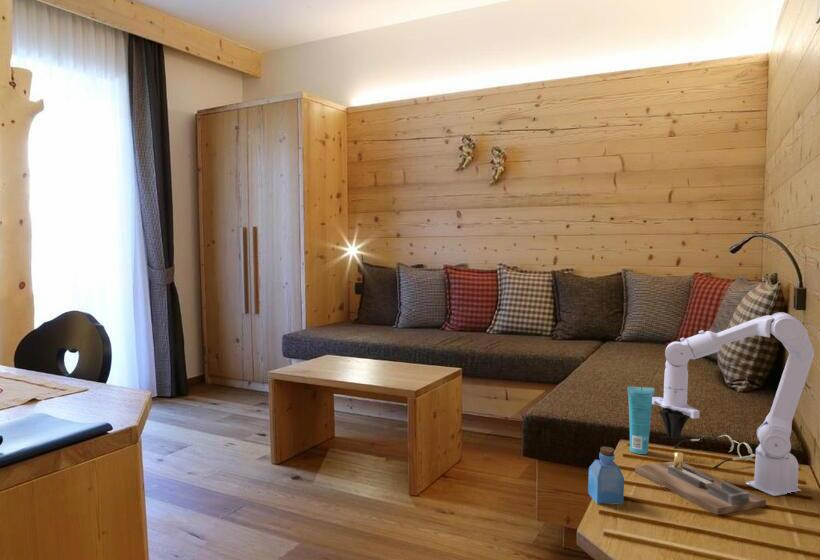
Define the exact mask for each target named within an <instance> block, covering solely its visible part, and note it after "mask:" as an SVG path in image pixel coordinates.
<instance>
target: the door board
mask: <svg viewBox="0 0 820 560" xmlns="http://www.w3.org/2000/svg"><path fill="white" fill-rule="evenodd" d="M672 465H674V460H673V461H666V462H665V461H664V462H660V463H659V462H658V463H652V464H645V465H638V466H635V470H634V472H635V473H636V474H638V475H640V476H642V477H643V478H646V479H648V480H649V481H651V482H653V483H655V484H657V483H658V484H657V485H659V484H660V485H659V486H661V485H663V486H665V487H667V488H668V489H670V490H671V491H670V490H669V491H670V492H672V493H674V494H677V495H678V496H680V497H682V498H684V499H685V500H687V501H689V502H691V503H693V504H695V505H696V506H699V507H701V508H703V509H704V510H706V511H707V512H711V513H712V514H714V515H715V516H720V515H724V514H725V515H727V514H730V513H735V512H740V511H741V512H742V511H747V510H751V509H757V508H758V509H759V508H763V507H766V505H767V499H766V498H763V497H761V496H759V495H756V494H754V493H751V492H750V491H747V490H745V489H743V488H740V487H739V486H736V485H735V484H732V483H730V482H727V481H725V480H723V479H721V478H719V477H716V476H715V475H712V474H710V473H708V472H706V471H703V470H701V469H699V468H696V467H694V466H692V465H690V464H687V463H686V462H684V461H683V464H682V469H685V470H687V471H689V472H691V473H693V474H695V475H697V476H700V477H702V478H704V479H706V480H708V481H710V482H712V483H713V485H708V488H707V489H706V488H704V487H702V481H700V480H698V479H696V478H694V477H692V476H690V475H688V474H686V473H683V472H681V471H679V470H677V469H675V468H673V467H669V466H672ZM663 486H662V487H663ZM668 489H667V490H668Z"/></svg>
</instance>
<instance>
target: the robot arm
mask: <svg viewBox="0 0 820 560" xmlns="http://www.w3.org/2000/svg"><path fill="white" fill-rule="evenodd" d="M771 335H772V336H774V337H775V338H776V339H777V340H778V341H779V342H781V344H782V345H783V347H784V348H785V349H786V350H787V352H788V357H787V359H786V361H785V364H784V365H785V366H784V369H783V372H782V374H781V378H780V381H779V383H778V386H777V390H776V392H775V395H774V398H773V402H772V406H771V408H770V411H769V413H768V414H767V415H766V417H765V419H764V421H763V423H762V424H761V425H760V426H759V427H757V429H756V436H757V440H758V441H759V444H758V446H757V447H756V448H755V455H756V457H755V463H754V476H753V479H754V480H750V481H746V482H745V485H748V486H750V487H751V488H754V489H756V490H758V491H762V492H763V493H766V494H768V495H770V496H771V497H778V496H782V495H788V494H787V493H790V494H792V493H791V492H795V493H797V492H796V491H800V492H801V491H802V489H800V488H799V485H798V484H799V466H800V465H799V462H798V460H797V458H796V456H794V454H792V453H791V449H792V443H791V435H792V427H793V426H792V425H793V419H794V416H795V414H796V412H797V411H796V410H797V408H798V404H799V402H800V399H801V397H802V396H801V395H802V392H803V389H804V388H805V387H804V386H805V385H806V380H807V378H808V375H809V372H810V368H811V366H812V363H813V359H814V357H815V350H814V348H813V347H814V346H813V344H812V342H811V338H810V336H809V334H808V329H807V328H806V327H805V325H803V324H802V322H801V321H800V320H799V319H798V318H796V317H794V316H792V315H791V314H789V313H788V312H787V313H786V312H783V311H781V312H779V311H778V312H775V313H773V314H771V315H770V314H768V315H762V316H759V317H757V318H753V319H750V320H748V321H745V322H742V323H740V324H737V325H735V326H732V327H729V328H727V329H724V330H721V331H718V332H713V331H711V330H707V331H704V330H703V329H702V330H699V331H698V333H697V334H695V335H692V336H689V337H686V338H685V337H681V338H680V339H679V340H680V341H679V340H678V341H672V342H670V343H669V344H668V345H667V346H666V348H665V350H664V356H665V369H664V374H663V375H664V378H663V397H660V396H653V397H652V405H654V406H660V407H661V408H662V409H659V411H658V412H659V415H660V416H661V419H662V421H663V423H664V427H665V430H666V431H665V432H666V436H667V438H671V439H672V440H679V439H680V437H681V434H682V431H683V429H684V426H686V423H687V421H688V420H689V419H690V418H691V419H700V414H701V413H700V412H701V411H700V410H698V409H696V408H695V407H692V406H691V405H689V404H688V389H689V388H688V387H689V386H688V384H689V370H688V363H689V361H690V360H696V359H699V358H700V359H701V358H703V357H706V356H709V355H712V354H715V353H718V352H719V351H720V350H721V348H722V346H723V345H726V344H730V343H732V342H736V341H739V340H743V339H746V338H750V337H753V336H760V337H765V338H771Z"/></svg>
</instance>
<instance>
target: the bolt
mask: <svg viewBox="0 0 820 560" xmlns="http://www.w3.org/2000/svg"><path fill="white" fill-rule="evenodd" d="M673 461H674V465H672V466H669V467H673V468H675V469H677V470H679V471H681V472H683V473H686V474H688V475H690V476H692V477H694V478H696V479H698V480H700V481H702V487H704V488H706V489H707V488H708V485H713V483H712V482H710V481H708V480H706V479H704V478H702V477H700V476H697V475H695V474H693V473H691V472H689V471H687V470H685V469H682V464H683V462H684V453H683V452H681V451H674V455H673Z"/></svg>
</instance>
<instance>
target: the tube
mask: <svg viewBox="0 0 820 560" xmlns="http://www.w3.org/2000/svg"><path fill="white" fill-rule="evenodd" d="M655 390H656V389H655V387H642V386H641V387H640V386H639V387H638V386H629V385H628V386H627V395H628V417H629V419H628V420H629V451H630V453H631V452H632V453H634V454H637V455H647V454H648V452H649V444H650V443H649V442H650V432H651V431H650V430H651V417H652V409H653V408H652V407H653V404H652V397H655V396H654V395H655Z"/></svg>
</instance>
